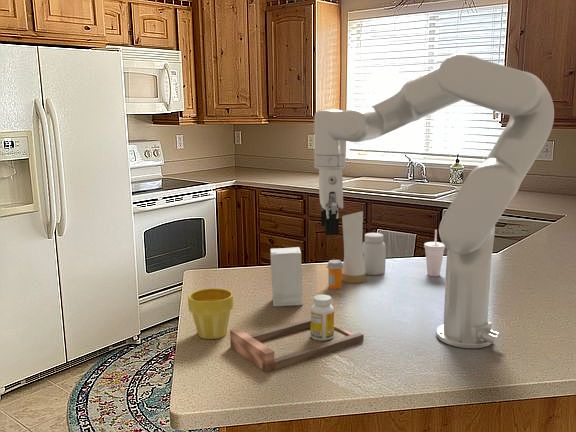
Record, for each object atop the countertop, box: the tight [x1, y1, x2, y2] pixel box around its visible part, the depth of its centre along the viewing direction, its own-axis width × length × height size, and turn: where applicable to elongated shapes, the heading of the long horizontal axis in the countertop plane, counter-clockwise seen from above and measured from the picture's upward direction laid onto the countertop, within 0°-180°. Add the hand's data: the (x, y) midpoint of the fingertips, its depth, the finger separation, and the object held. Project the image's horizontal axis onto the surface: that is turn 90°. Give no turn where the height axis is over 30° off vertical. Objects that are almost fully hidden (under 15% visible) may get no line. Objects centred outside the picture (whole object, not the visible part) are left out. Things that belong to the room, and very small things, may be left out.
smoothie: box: [423, 229, 446, 277], centre depth 177 cm, size 6×6×14 cm
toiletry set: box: [326, 210, 387, 290], centre depth 174 cm, size 25×8×21 cm, turn 136°
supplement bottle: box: [310, 294, 335, 342], centre depth 132 cm, size 5×5×10 cm
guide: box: [229, 317, 365, 373], centre depth 129 cm, size 15×26×4 cm, turn 124°
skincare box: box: [270, 246, 304, 307], centre depth 154 cm, size 8×6×15 cm
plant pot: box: [187, 287, 234, 340], centre depth 135 cm, size 10×10×10 cm
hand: (329, 230), depth 143 cm, fingers open, 9 cm apart
